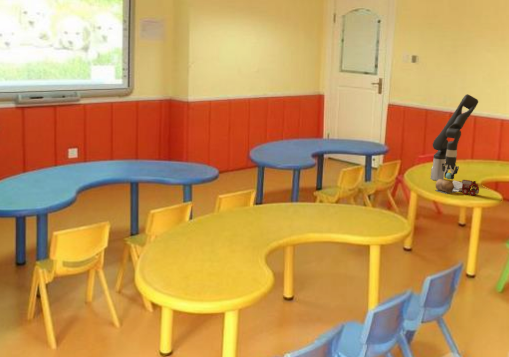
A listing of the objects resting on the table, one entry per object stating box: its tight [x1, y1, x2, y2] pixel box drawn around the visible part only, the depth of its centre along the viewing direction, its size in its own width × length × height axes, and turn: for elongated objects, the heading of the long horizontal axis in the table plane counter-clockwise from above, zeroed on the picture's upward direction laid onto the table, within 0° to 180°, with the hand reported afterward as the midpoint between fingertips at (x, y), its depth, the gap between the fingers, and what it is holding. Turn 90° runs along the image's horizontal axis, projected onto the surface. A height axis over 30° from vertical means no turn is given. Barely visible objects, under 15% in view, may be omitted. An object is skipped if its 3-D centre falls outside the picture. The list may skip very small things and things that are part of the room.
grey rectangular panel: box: [435, 188, 460, 195], centre depth 483 cm, size 10×21×1 cm, turn 125°
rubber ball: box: [445, 172, 452, 180], centre depth 479 cm, size 5×5×5 cm
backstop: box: [452, 180, 462, 192], centre depth 486 cm, size 11×7×5 cm, turn 35°
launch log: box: [435, 179, 454, 194], centre depth 478 cm, size 10×8×8 cm
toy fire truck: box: [461, 179, 480, 197], centre depth 473 cm, size 7×12×10 cm, turn 60°
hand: (449, 178), depth 479 cm, fingers closed on rubber ball, 5 cm apart
